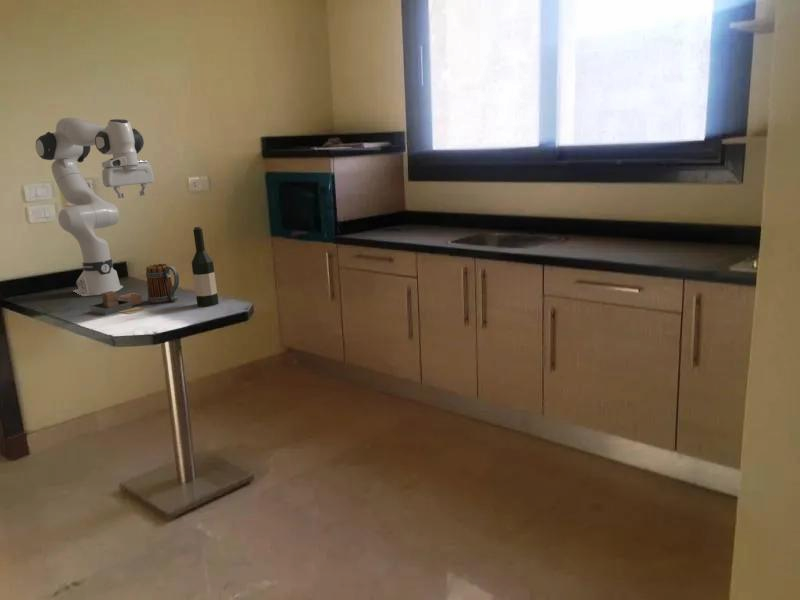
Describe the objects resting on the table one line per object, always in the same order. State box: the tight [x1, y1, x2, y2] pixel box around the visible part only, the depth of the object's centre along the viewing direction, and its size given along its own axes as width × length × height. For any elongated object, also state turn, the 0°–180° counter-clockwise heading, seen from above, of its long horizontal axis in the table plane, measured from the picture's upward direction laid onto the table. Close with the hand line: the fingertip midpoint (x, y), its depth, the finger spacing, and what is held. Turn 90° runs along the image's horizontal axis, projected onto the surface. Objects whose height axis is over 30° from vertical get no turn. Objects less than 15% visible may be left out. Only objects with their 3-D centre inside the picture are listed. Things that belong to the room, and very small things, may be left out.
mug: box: [145, 263, 180, 305], centre depth 267 cm, size 16×11×15 cm
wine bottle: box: [190, 226, 219, 308], centre depth 256 cm, size 8×8×30 cm
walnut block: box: [101, 291, 119, 308], centre depth 258 cm, size 4×4×7 cm
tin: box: [89, 299, 133, 316], centre depth 258 cm, size 11×11×3 cm
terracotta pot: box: [118, 292, 143, 306], centre depth 268 cm, size 6×6×4 cm
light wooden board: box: [118, 306, 149, 315], centre depth 256 cm, size 8×8×1 cm
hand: (132, 196), depth 267 cm, fingers open, 8 cm apart
